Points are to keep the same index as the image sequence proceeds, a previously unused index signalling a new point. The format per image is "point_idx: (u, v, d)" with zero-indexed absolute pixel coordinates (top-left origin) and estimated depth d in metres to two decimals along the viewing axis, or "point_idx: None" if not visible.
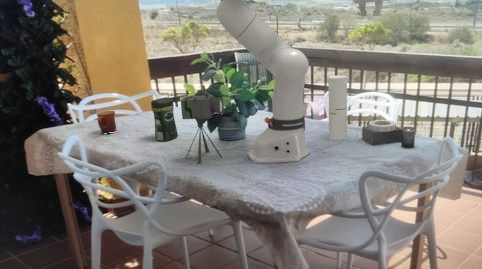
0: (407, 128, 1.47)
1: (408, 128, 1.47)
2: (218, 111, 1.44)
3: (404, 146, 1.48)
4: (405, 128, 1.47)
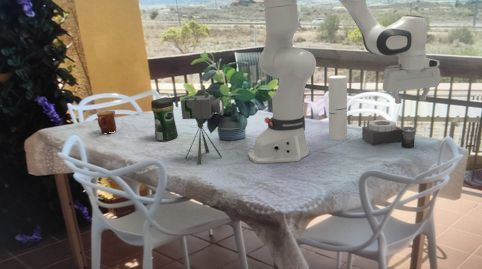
0: (407, 128, 1.47)
1: (408, 128, 1.47)
2: (218, 111, 1.44)
3: (404, 146, 1.48)
4: (405, 128, 1.47)
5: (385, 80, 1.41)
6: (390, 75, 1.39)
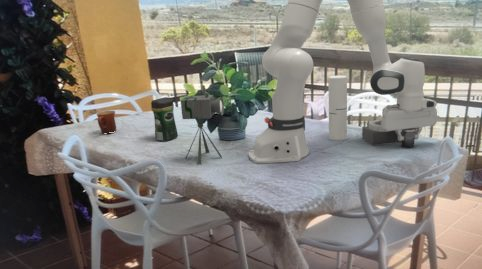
0: None
1: None
2: (218, 111, 1.44)
3: (404, 146, 1.48)
4: None
5: (383, 119, 1.45)
6: (388, 115, 1.43)
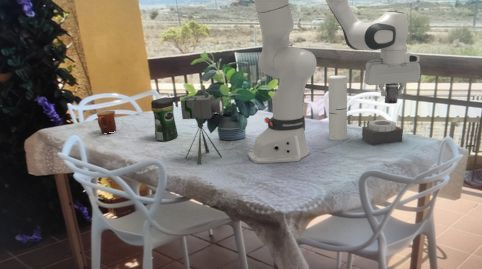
0: None
1: None
2: (218, 111, 1.44)
3: (387, 101, 1.49)
4: None
5: (366, 73, 1.46)
6: (371, 68, 1.44)
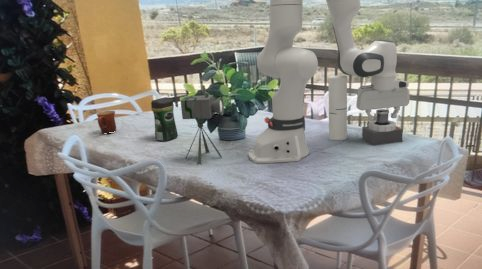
0: (381, 110, 1.55)
1: (382, 110, 1.54)
2: (218, 111, 1.44)
3: None
4: (379, 110, 1.55)
5: (358, 99, 1.52)
6: (362, 95, 1.50)
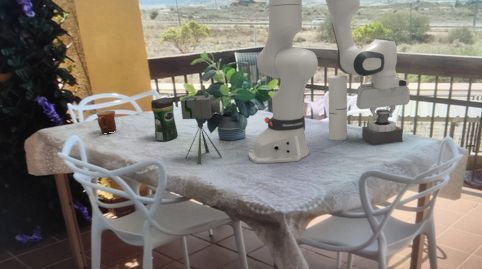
0: (381, 110, 1.55)
1: (382, 110, 1.54)
2: (218, 111, 1.44)
3: None
4: (379, 110, 1.55)
5: (358, 98, 1.52)
6: (362, 93, 1.50)
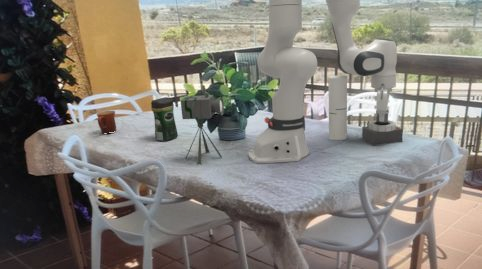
0: None
1: None
2: (218, 111, 1.44)
3: None
4: None
5: (381, 101, 1.44)
6: (387, 95, 1.44)
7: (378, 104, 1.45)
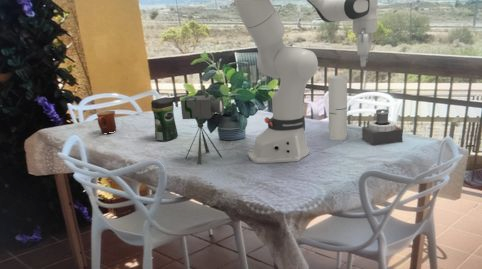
0: (382, 110, 1.54)
1: (383, 110, 1.54)
2: (218, 111, 1.44)
3: None
4: (381, 111, 1.54)
5: (361, 44, 1.46)
6: (367, 38, 1.45)
7: (359, 47, 1.46)
